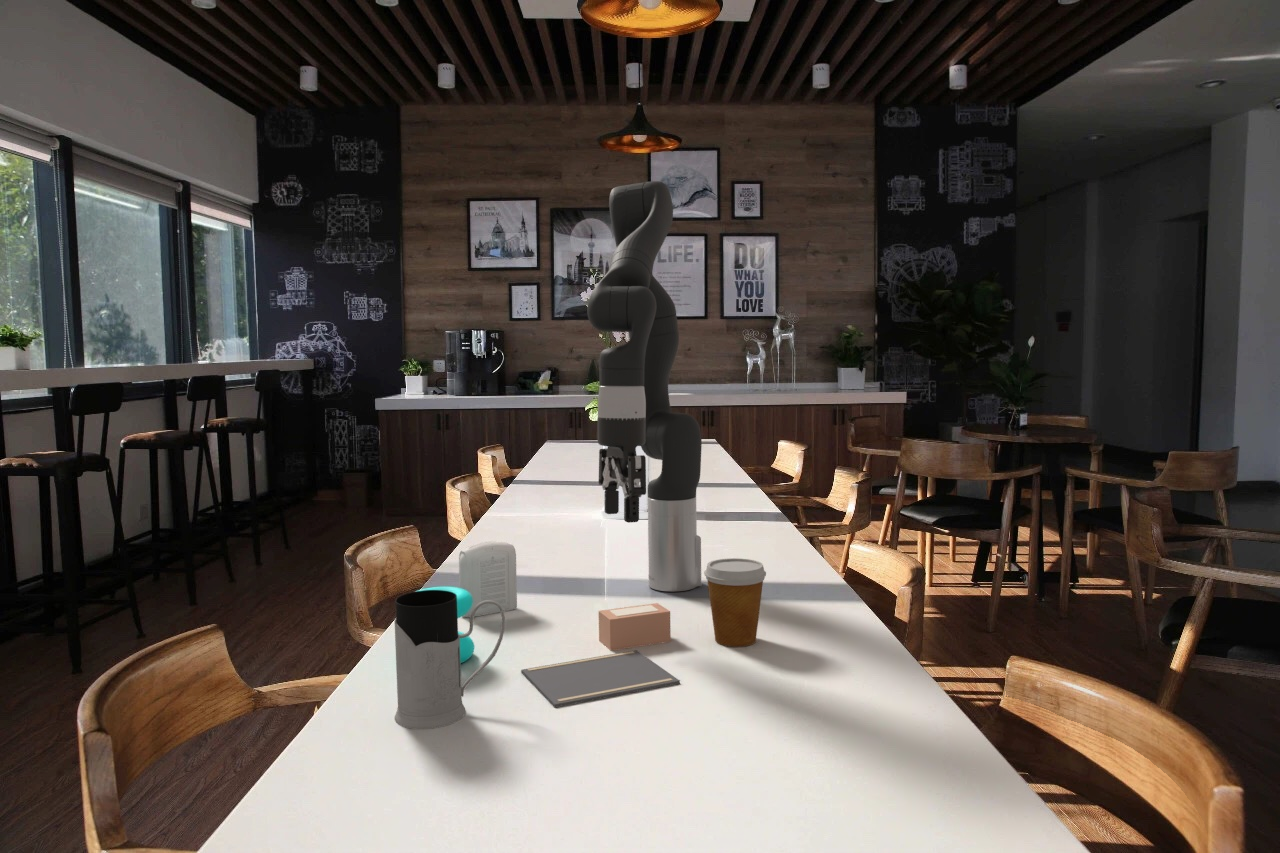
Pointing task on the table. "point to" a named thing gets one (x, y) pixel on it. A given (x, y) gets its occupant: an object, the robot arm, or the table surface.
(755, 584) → the disposable coffee cup
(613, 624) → the card box
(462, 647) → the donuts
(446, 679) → the glass holder
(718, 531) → the table surface
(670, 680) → the mat
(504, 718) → the table surface
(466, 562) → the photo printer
